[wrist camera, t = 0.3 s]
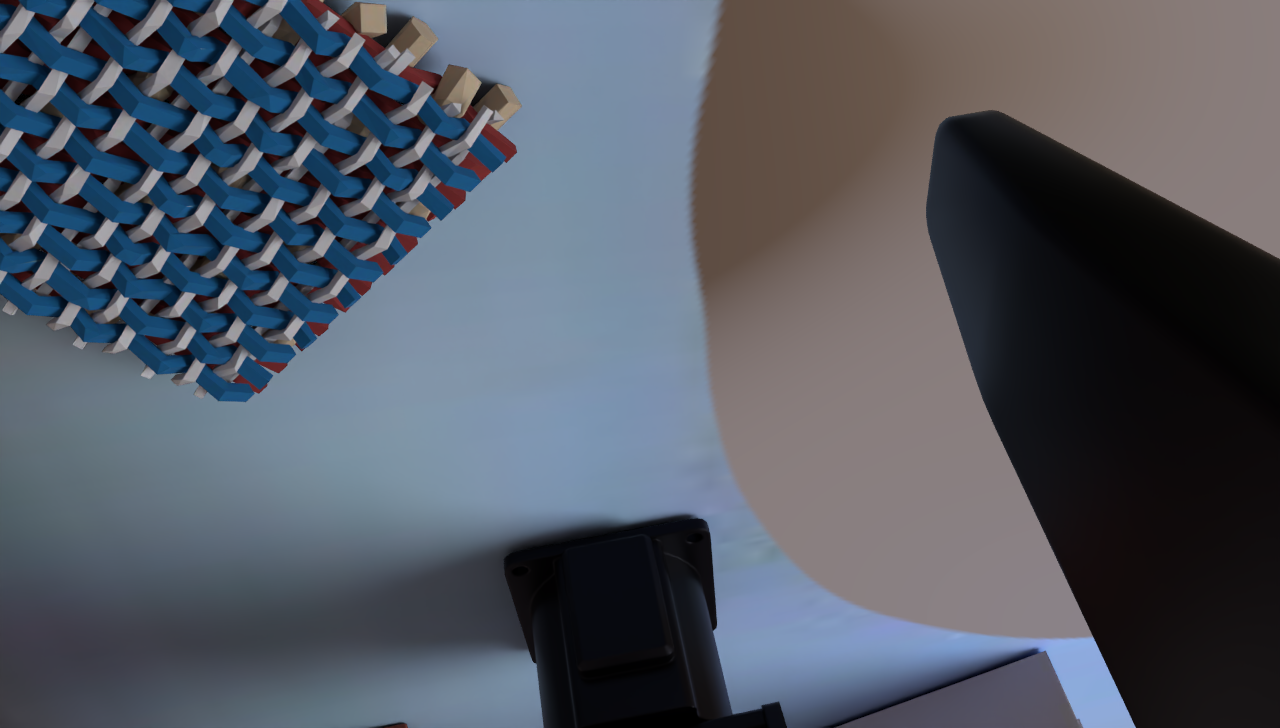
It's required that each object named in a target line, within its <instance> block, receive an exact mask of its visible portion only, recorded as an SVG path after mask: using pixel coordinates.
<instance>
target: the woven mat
mask: <svg viewBox="0 0 1280 728" xmlns="http://www.w3.org/2000/svg"><path fill="white" fill-rule="evenodd" d="M323 2H324V0H0V294H1V295H3V296H4V297H5V298H6V299H8V302H7V303H6V305H5V306H4V308H3V310H2V311H4V312H6V313H8V314H10V315H14V314H15V313H16V311H17V309H18V308H19V309H20V310H21V311H23V312H24V313H25V314H26V315H36V316H49V317H56V318H54V319H52V320H51V321H50V322H48V323H47V324H46V325H48V326H49V327H50V328H51V329H52V330H54V331H55V330H58V329H61V328H65V327H68V326H71V328H72V329H73V330H74V331H75V332H76V334H77V335H78V336H77V338H76V340H75V342H74V343H73V345H74V346H76V347H78V348H80V349H84V347H85V345H86V344H87V342H97V343H111V344H109V345H107V346H106V347H105V348H104V349H103V351H102V352H107V353H113V354H114V353H117V352H120V351H123V350H126V349H127V348H128V349H130V350H131V351H132V352H133V353H134V354H135V355H136V356H137V357H138V358H140V359H141V360H142V361H143V362H144V363H145V364H146V367H145V368H144V370H143V372H142V374H141V376H144V377H146V378H149V379H151V378H152V376H153V375H154V373H156V374H171V373H182V374H177V375H175V376H174V377H173V378H172V379H171V380H172V381H173V382H174V383H175V384H176V385H177V386H179V385H183V384H188V383H193V382H195V381H196V382H197V383H198V384H199V387H198V388H197V390H196V391H195V393H194V395H195V396H197V397H199V398H201V399H202V398H203V397H204V395H205V394H206V393H207V392H209V393H210V394H211V395H212V396H213V397H214V398H216V399H217V400H218V401H237V402H246V401H247V400H248V399H249V398H251V397H252V396H253V395H254V394H255V393H254V392H256V393H258V394H259V393H260V392H261V391H262V390H263V389H264V388H266V387H267V383H268V382H269V381H270V379H271V378H272V377H273V375H272V374H271V373H269V372H268V371H267V370H265V369H264V368H263V367H261V366H260V365H262V366H264V367H266V368H268V369H270V370H272V371H274V372H277V373H280V372H281V371H282V370H283V369H284V368H285V367H286V366H287V363H288V362H289V361H290V360H291V359H292V358H293V357H294V356H295V355H296V353H295V352H294V350H293V349H292V346H293V345H296V346H297V347H298V348H299V349H300V350H301V351H303V350H304V349H305V348H306V347H308V346H309V345H310V344H312V343H313V342H314V341H315V340H316V339H317V337H316V336H315V334H316V335H318V336H320V335H321V334H323V333H324V332H325V331H326V330H327V329H328V325H329V324H330V323H331V322H332V321H333V320H334V319H335V318H336V317H337V316H338V315H339V314H338V313H337V311H336V310H335V308H336V309H339V310H341V311H343V312H345V313H346V311H347V310H348V309H349V308H350V307H351V306H352V305H353V304H354V303H355V302H357V301H358V300H359V299H360V298H361V296H360V295H362V296H363V295H364V294H365V293H366V292H367V291H368V290H369V289H370V288H371V285H372V282H374V281H375V280H376V279H378V278H379V277H380V276H381V275H382V274H383V275H386V274H387V273H388V272H389V271H390V270H391V269H392V268H394V264H397V263H398V262H399V261H400V260H401V259H402V258H404V257H405V256H406V255H407V254H408V252H410V251H411V250H412V249H413V248H414V247H415V246H416V245H417V244H418V242H417V237H419V238H421V237H422V236H424V235H425V234H426V233H427V232H428V231H429V230H430V229H431V226H430V225H429V223H428V222H427V221H430V220H432V219H434V218H435V217H438V218H439V219H440V220H442V219H443V218H444V217H445V216H447V215H448V214H449V213H450V212H451V211H452V209H453V208H454V209H456V208H457V207H458V206H460V205H461V204H462V203H463V202H464V201H465V198H466V191H469V192H470V191H472V190H473V189H474V188H475V187H476V186H477V185H478V184H479V183H480V182H481V181H482V180H483V179H484V178H485V177H486V176H487V175H488V174H489V173H491V172H494V171H495V170H496V169H497V168H498V167H499V166H500V165H501V164H502V163H503V162H504V161H505V162H506V163H507V162H508V161H509V160H510V159H511V158H512V157H513V156H514V155H515V154H516V153H517V150H516V146H515V145H514V144H513V143H512V142H511V141H509V140H508V139H507V138H506V137H504V136H503V135H502V134H501V133H500V132H498V131H497V130H498V129H499V128H500V127H501V126H502V125H503V124H504V123H505V122H506V121H507V120H508V119H509V118H510V117H511V116H512V115H513V114H515V113H516V112H517V111H518V110H519V109H520V108H521V107H522V105H521V104H520V102H519V100H518V99H517V97H516V96H515V94H514V92H513V91H512V89H511V88H510V87H508V86H504V85H500V84H496V85H495V86H494V87H493V88H492V89H491V90H490V91H489V92H488V93H487V94H486V95H485V96H484V97H483V98H482V99H481V100H480V101H479V102H478V103H477V104H476V105H475V106H474V107H472V106H471V105H470V103H471V101H472V99H473V98H474V96H475V94H476V92H477V90H478V89H479V87H480V85H481V82H480V81H479V80H478V79H477V78H476V77H475V76H474V74H473V73H472V72H471V71H470V70H469V69H468V68H464V67H459V66H454V65H448V67H447V69H446V71H445V73H444V75H443V77H442V76H441V75H439V74H436V73H432V72H428V71H424V70H420V69H416V68H413V67H414V66H415V65H416V64H417V63H418V62H419V60H420V59H421V58H422V57H423V56H424V55H425V54H426V53H427V51H428V50H429V49H430V48H431V47H432V46H433V45H434V44H435V42H436V41H437V40H438V38H437V37H436V35H435V34H434V33H433V32H432V30H431V29H430V28H429V27H428V25H427V24H426V23H424V22H423V21H421V20H419V19H417V18H415V17H414V16H413V17H412V18H411V19H410V20H409V21H408V22H407V24H406V25H405V26H404V27H403V28H402V29H401V30H400V32H399V33H398V34H397V35H396V36H395V37H394V39H393V40H392V41H391V42H390V43H389V44H388V45H387V47H386V48H384V47H383V46H381V45H380V44H379V43H377V42H376V41H374V40H373V39H372V38H374V37H377V36H380V35H383V34H386V33H387V19H386V5H381V4H371V3H361V2H355V3H354V4H353V5H352V6H350V7H349V8H348V9H347V10H346V11H345V12H344V13H343V14H342V15H339V14H338V13H336V12H335V11H333V10H332V9H331V8H329V7H328V6H327V5H325V4H324V3H323ZM78 25H80V26H79V27H78ZM219 26H220V27H221V28H222V29H223V30H224V31H225V32H227V33H228V34H229V35H230V36H229V35H228V34H226V33H224V32H223V31H221V30H219V29H218V28H217V27H219ZM206 62H208V63H210V64H211V65H209V64H208V63H206ZM348 67H350V68H351V69H352V70H353V71H354V72H352V71H351V70H349V69H348ZM125 73H127V74H131V75H129V76H127V75H126V74H125ZM1 89H2V90H1ZM21 93H22V94H26V95H31V97H29V98H26V99H24V100H23V101H22V102H21V103H20V105H16V104H15V103H14V102H15V100H16V99H17V98H18V97H19V95H20V94H21ZM165 99H168V100H169V101H170V103H171V104H169V103H166V102H163V101H164V100H165ZM393 99H394V100H393ZM395 100H397V101H399V102H401V103H404V104H405V105H403V106H402V105H401V104H399V103H398V102H396V101H395ZM46 159H47V160H46ZM211 163H213V164H211ZM100 182H103V183H104V184H102V183H100ZM178 194H179V195H178ZM65 204H66V205H65ZM426 219H427V221H426ZM187 232H189V233H187ZM135 242H136V243H135ZM134 243H135V244H134ZM40 248H41V249H42V250H43V251H44V252H45V253H44V252H42V251H40V250H39V249H40ZM179 258H180V259H179ZM313 261H317V263H316V264H315V265H310V264H309V263H311V262H313ZM77 276H79V277H81V278H83V279H85V280H83V281H80V280H79V279H78V278H77ZM145 278H146V279H145ZM228 278H229V280H227V279H228ZM32 289H34V290H35V291H36V292H33V291H32ZM358 293H359V294H360V295H359V294H358ZM322 302H323V303H325V304H322ZM121 319H122V320H123V321H124V322H125V323H126V324H116V323H117V322H118V321H119V320H121ZM249 325H252V326H253V327H251V326H249ZM148 339H149V340H148ZM151 341H152V342H153V343H155V344H156V345H157V347H156V346H155V345H154V344H153V343H152V342H151ZM221 346H222V347H221ZM172 353H174V354H175V355H169V354H172ZM166 355H169V356H166ZM259 364H260V365H259ZM232 381H233V382H235V383H231V382H232ZM253 391H254V392H253Z"/></svg>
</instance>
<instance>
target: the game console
mask: <svg viewBox="0 0 1280 728" xmlns="http://www.w3.org/2000/svg"><path fill="white" fill-rule="evenodd" d="M835 728H1083V726H1082V724H1081V722H1080V720H1079V719H1076V716H1075V714H1074V712H1073V710H1072V708H1071V705H1070V703H1069V701H1068V699H1067V696H1066V694H1065V692H1064V690H1063V688H1062V685H1061V683H1060V681H1059V679H1058V677H1057V675H1056V672H1055V670H1054V668H1053V666H1052V664H1051V661H1050V659H1049V657H1048V655H1047V653H1046V651H1044V652H1041V653H1038V654H1035V655H1033V656H1030V657H1027V658H1025V659H1022V660H1019V661H1017V662H1014V663H1011V664H1008V665H1006V666H1003V667H1000V668H998V669H995V670H992V671H989V672H987V673H984V674H981V675H978V676H976V677H973V678H970V679H967V680H965V681H962V682H959V683H956V684H954V685H951V686H948V687H945V688H942V689H940V690H937V691H934V692H931V693H929V694H926V695H923V696H920V697H918V698H915V699H912V700H909V701H907V702H904V703H901V704H898V705H896V706H893V707H890V708H887V709H885V710H882V711H879V712H876V713H874V714H871V715H868V716H865V717H863V718H860V719H857V720H854V721H851V722H849V723H846V724H843V725H840V726H838V727H835Z"/></svg>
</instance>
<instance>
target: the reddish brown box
mask: <svg viewBox="0 0 1280 728" xmlns="http://www.w3.org/2000/svg"><path fill="white" fill-rule="evenodd" d="M383 728H408V727H407V725H406V724H405V723H404V724H398V725H393V726H388V727H383Z"/></svg>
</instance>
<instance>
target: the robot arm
mask: <svg viewBox="0 0 1280 728" xmlns="http://www.w3.org/2000/svg"><path fill="white" fill-rule="evenodd" d="M926 218H927V226H928V232H929V235H930V239H931V243H932V245H933V249H934V252H935V255H936V258H937V261H938V264H939V267H940V270H941V274H942V277H943V279H944V283H945V286H946V289H947V292H948V295H949V298H950V301H951V304H952V308H953V311H954V314H955V317H956V320H957V323H958V326H959V329H960V332H961V336H962V338H963V341H964V345H965V348H966V351H967V354H968V357H969V360H970V363H971V366H972V370H973V373H974V376H975V378H976V381H977V384H978V387H979V390H980V392H981V395H982V398H983V401H984V403H985V405H986V408H987V410H988V412H989V415H990V417H991V419H992V422H993V424H994V426H995V428H996V430H997V433H998V435H999V437H1000V439H1001V441H1002V443H1003V445H1004V448H1005V450H1006V452H1007V454H1008V456H1009V458H1010V460H1011V463H1012V465H1013V467H1014V469H1015V471H1016V473H1017V475H1018V477H1019V479H1020V482H1021V484H1022V486H1023V488H1024V490H1025V492H1026V494H1027V497H1028V499H1029V501H1030V503H1031V505H1032V507H1033V509H1034V512H1035V514H1036V516H1037V518H1038V520H1039V522H1040V524H1041V526H1042V528H1043V531H1044V533H1045V535H1046V537H1047V539H1048V541H1049V544H1050V546H1051V548H1052V550H1053V552H1054V554H1055V556H1056V558H1057V561H1058V563H1059V565H1060V567H1061V569H1062V571H1063V573H1064V575H1065V578H1066V579H1067V582H1068V584H1069V586H1070V588H1071V590H1072V593H1073V594H1074V597H1075V599H1076V601H1077V603H1078V605H1079V607H1080V610H1081V612H1082V614H1083V616H1084V618H1085V620H1086V622H1087V625H1088V626H1089V629H1090V631H1091V633H1092V635H1093V637H1094V639H1095V642H1096V644H1097V646H1098V648H1099V650H1100V652H1101V654H1102V656H1103V659H1104V661H1105V663H1106V665H1107V667H1108V669H1109V671H1110V674H1111V676H1112V678H1113V680H1114V682H1115V684H1116V686H1117V688H1118V691H1119V693H1120V695H1121V697H1122V699H1123V701H1124V703H1125V706H1126V708H1127V710H1128V712H1129V714H1130V716H1131V718H1132V720H1133V723H1134V725H1135V727H1136V728H1280V259H1279V258H1277V257H1275V256H1273V255H1271V254H1269V253H1267V252H1265V251H1263V250H1262V249H1260V248H1258V247H1256V246H1254V245H1252V244H1250V243H1248V242H1246V241H1245V240H1243V239H1241V238H1239V237H1237V236H1235V235H1233V234H1231V233H1229V232H1228V231H1226V230H1224V229H1222V228H1220V227H1218V226H1216V225H1214V224H1212V223H1211V222H1208V221H1207V220H1205V219H1203V218H1201V217H1199V216H1197V215H1195V214H1193V213H1192V212H1190V211H1188V210H1186V209H1184V208H1182V207H1180V206H1178V205H1176V204H1175V203H1173V202H1171V201H1169V200H1167V199H1165V198H1163V197H1161V196H1159V195H1158V194H1156V193H1154V192H1152V191H1150V190H1148V189H1146V188H1144V187H1142V186H1140V185H1139V184H1136V183H1135V182H1133V181H1131V180H1129V179H1127V178H1125V177H1123V176H1122V175H1119V174H1118V173H1116V172H1114V171H1112V170H1110V169H1108V168H1106V167H1105V166H1103V165H1101V164H1099V163H1097V162H1095V161H1093V160H1091V159H1089V158H1087V157H1086V156H1083V155H1082V154H1080V153H1078V152H1076V151H1074V150H1072V149H1070V148H1068V147H1067V146H1065V145H1063V144H1061V143H1059V142H1057V141H1055V140H1053V139H1051V138H1050V137H1048V136H1046V135H1044V134H1042V133H1040V132H1038V131H1036V130H1034V129H1032V128H1030V127H1029V126H1027V125H1025V124H1023V123H1021V122H1019V121H1017V120H1015V119H1014V118H1011V117H1010V116H1008V115H1006V114H1004V113H1002V112H999V111H994V110H988V111H982V112H976V113H970V114H964V115H958V116H952V117H948V118H946V119H945V120H944V121H943V122H942V123H941V124H940V125H939V128H938V130H937V133H936V137H935V143H934V150H933V159H932V165H931V173H930V181H929V189H928V196H927V204H926ZM504 572H505V577H506V580H507V583H508V586H509V589H510V592H511V595H512V599H513V602H514V605H515V608H516V611H517V614H518V617H519V621H520V624H521V627H522V630H523V633H524V636H525V639H526V642H527V646H528V649H529V652H530V655H531V658H532V661H533V662H534V663H536V664H537V672H538V681H539V690H540V699H541V707H542V716H543V725H544V728H787V726H786V723H785V719H784V716H783V713H782V710H781V706H780V703H779V702H775V703H770V704H765V705H761V706H762V709H757V710H753V711H748V712H744V713H739V714H734V715H732V710H731V706H730V702H729V698H728V693H727V689H726V685H725V680H724V676H723V672H722V668H721V663H720V659H719V655H718V651H717V646H716V642H715V638H714V634H713V630H714V629H715V628H716V627H717V618H716V604H715V591H714V577H713V564H712V550H711V537H710V532H709V528H708V524H707V522H706V521H704V520H703V519H698V518H696V519H688V520H682V521H677V522H672V523H666V524H661V525H656V526H650V527H645V528H640V529H634V530H629V531H624V532H619V533H613V534H608V535H603V536H597V537H592V538H587V539H581V540H576V541H571V542H565V543H560V544H555V545H549V546H544V547H539V548H533V549H528V550H523V551H518V552H514V553H511V554H509V555H508V556H506V558H505V559H504Z"/></svg>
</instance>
